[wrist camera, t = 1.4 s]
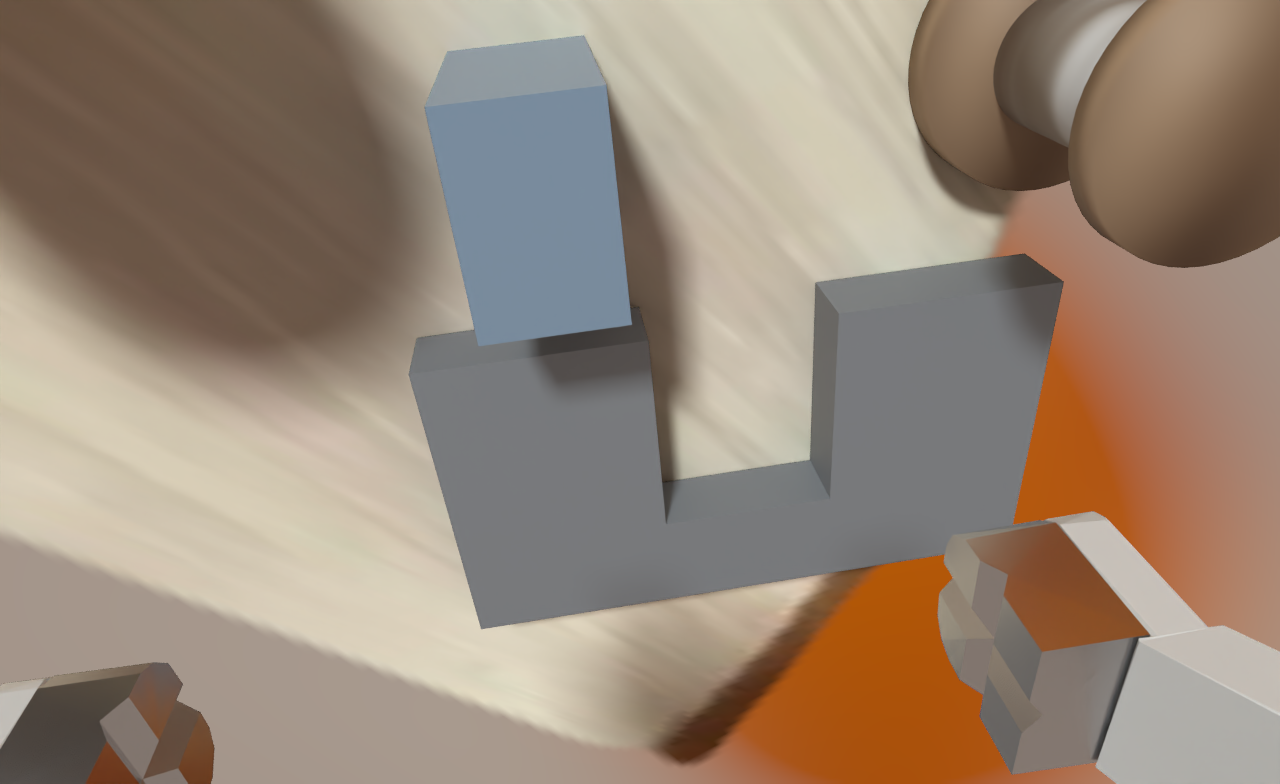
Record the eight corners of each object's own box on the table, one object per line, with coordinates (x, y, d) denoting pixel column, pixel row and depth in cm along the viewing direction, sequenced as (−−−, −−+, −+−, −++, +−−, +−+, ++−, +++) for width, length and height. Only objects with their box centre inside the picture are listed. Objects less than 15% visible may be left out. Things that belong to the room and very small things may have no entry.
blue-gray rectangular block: (486, 244, 27) (478, 346, 21) (447, 51, 24) (424, 107, 18) (606, 228, 27) (631, 324, 21) (584, 35, 24) (606, 84, 18)
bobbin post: (898, 191, 28) (1042, 306, 20) (921, -80, 23) (1116, -64, 16) (1122, 161, 28) (1346, 263, 20) (1185, -110, 24) (1499, -108, 16)
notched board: (483, 583, 35) (481, 629, 32) (416, 338, 28) (408, 374, 26) (979, 505, 36) (1008, 544, 34) (1024, 253, 29) (1063, 281, 27)
